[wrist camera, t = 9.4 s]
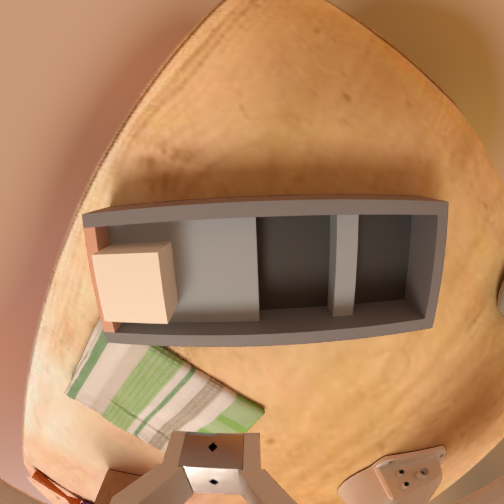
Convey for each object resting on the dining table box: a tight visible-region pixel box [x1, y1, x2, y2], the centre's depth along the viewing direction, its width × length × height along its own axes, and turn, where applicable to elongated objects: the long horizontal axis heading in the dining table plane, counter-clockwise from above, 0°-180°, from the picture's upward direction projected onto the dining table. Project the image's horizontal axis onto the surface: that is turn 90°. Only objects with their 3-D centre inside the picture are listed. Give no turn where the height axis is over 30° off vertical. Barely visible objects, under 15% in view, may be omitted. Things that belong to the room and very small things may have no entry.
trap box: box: [82, 195, 448, 347], centre depth 26 cm, size 32×12×6 cm, turn 92°
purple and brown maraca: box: [32, 470, 92, 504], centre depth 43 cm, size 6×6×20 cm
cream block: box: [92, 241, 179, 324], centre depth 25 cm, size 6×6×4 cm
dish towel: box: [65, 318, 265, 453], centre depth 33 cm, size 17×23×4 cm
